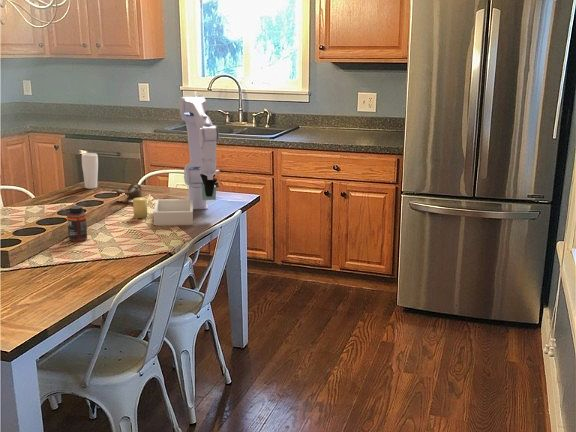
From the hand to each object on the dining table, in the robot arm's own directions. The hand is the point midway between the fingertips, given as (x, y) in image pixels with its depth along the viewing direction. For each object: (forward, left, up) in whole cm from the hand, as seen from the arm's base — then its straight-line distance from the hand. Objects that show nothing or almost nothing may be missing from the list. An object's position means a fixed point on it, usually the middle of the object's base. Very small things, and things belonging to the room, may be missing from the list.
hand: (208, 194), depth 235 cm
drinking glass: (-48, -50, -10) cm, 70 cm away
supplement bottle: (+24, -44, -10) cm, 51 cm away
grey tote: (0, -13, -9) cm, 16 cm away
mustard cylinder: (-2, -25, -9) cm, 27 cm away
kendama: (-28, -31, -10) cm, 43 cm away
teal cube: (0, 0, -2) cm, 2 cm away
